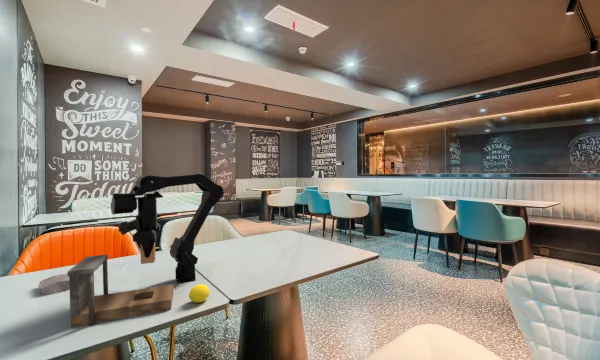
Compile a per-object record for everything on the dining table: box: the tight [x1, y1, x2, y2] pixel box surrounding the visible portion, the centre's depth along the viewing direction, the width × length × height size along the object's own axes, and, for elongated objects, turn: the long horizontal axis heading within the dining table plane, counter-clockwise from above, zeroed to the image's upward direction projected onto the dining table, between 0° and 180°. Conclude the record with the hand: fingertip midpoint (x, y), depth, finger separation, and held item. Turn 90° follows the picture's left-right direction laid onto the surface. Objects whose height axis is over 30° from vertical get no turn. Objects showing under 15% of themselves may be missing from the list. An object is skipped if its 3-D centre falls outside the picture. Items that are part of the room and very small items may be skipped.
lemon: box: [188, 283, 210, 304], centre depth 86 cm, size 7×5×5 cm
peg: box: [139, 242, 156, 265], centre depth 95 cm, size 4×4×9 cm
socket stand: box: [66, 254, 174, 328], centre depth 82 cm, size 24×14×15 cm, turn 112°
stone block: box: [37, 273, 70, 296], centre depth 98 cm, size 12×5×10 cm
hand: (148, 255), depth 95 cm, fingers closed on peg, 4 cm apart
